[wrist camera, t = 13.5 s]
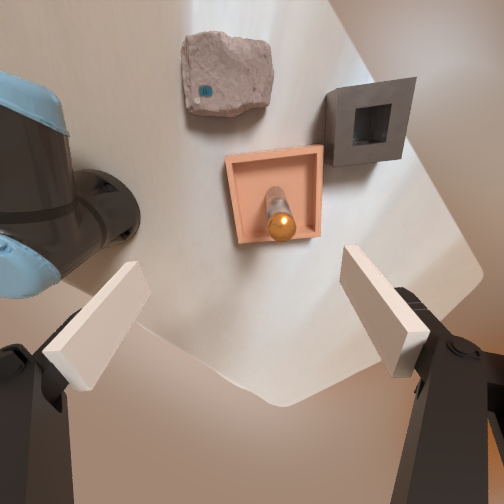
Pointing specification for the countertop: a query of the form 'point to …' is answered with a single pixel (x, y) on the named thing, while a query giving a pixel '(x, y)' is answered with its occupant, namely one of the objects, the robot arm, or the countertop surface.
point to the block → (382, 123)
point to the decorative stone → (225, 74)
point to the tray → (284, 176)
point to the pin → (279, 215)
